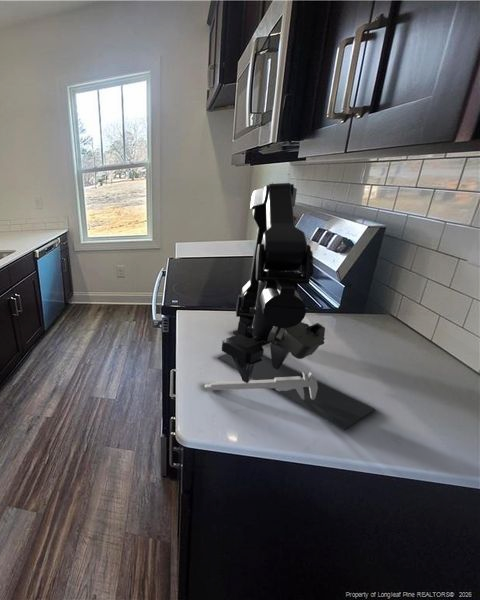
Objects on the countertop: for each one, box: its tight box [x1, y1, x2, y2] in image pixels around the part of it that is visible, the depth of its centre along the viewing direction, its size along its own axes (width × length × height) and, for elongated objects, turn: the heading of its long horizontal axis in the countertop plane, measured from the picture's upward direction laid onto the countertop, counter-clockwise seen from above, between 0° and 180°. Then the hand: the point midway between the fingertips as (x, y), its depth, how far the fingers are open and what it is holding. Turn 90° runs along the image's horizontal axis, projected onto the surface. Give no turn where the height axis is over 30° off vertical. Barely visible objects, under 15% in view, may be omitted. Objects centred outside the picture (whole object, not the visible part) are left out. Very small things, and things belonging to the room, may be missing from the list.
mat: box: [217, 353, 376, 431], centre depth 70 cm, size 10×28×1 cm, turn 26°
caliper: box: [204, 371, 318, 400], centre depth 65 cm, size 20×1×6 cm, turn 73°
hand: (260, 375), depth 65 cm, fingers open, 9 cm apart
